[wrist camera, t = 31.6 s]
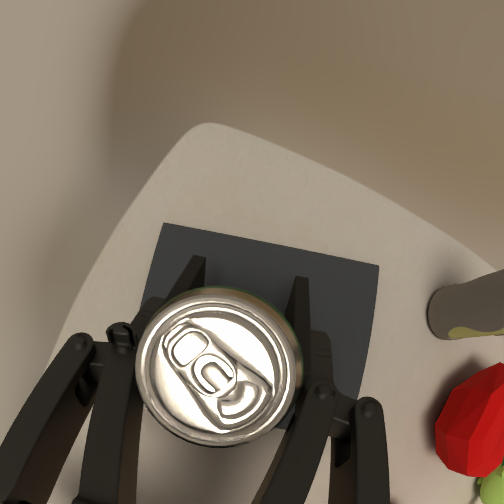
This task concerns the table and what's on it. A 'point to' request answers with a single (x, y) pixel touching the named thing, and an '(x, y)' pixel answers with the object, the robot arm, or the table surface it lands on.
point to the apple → (473, 424)
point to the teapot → (492, 487)
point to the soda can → (219, 367)
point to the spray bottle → (469, 308)
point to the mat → (280, 288)
